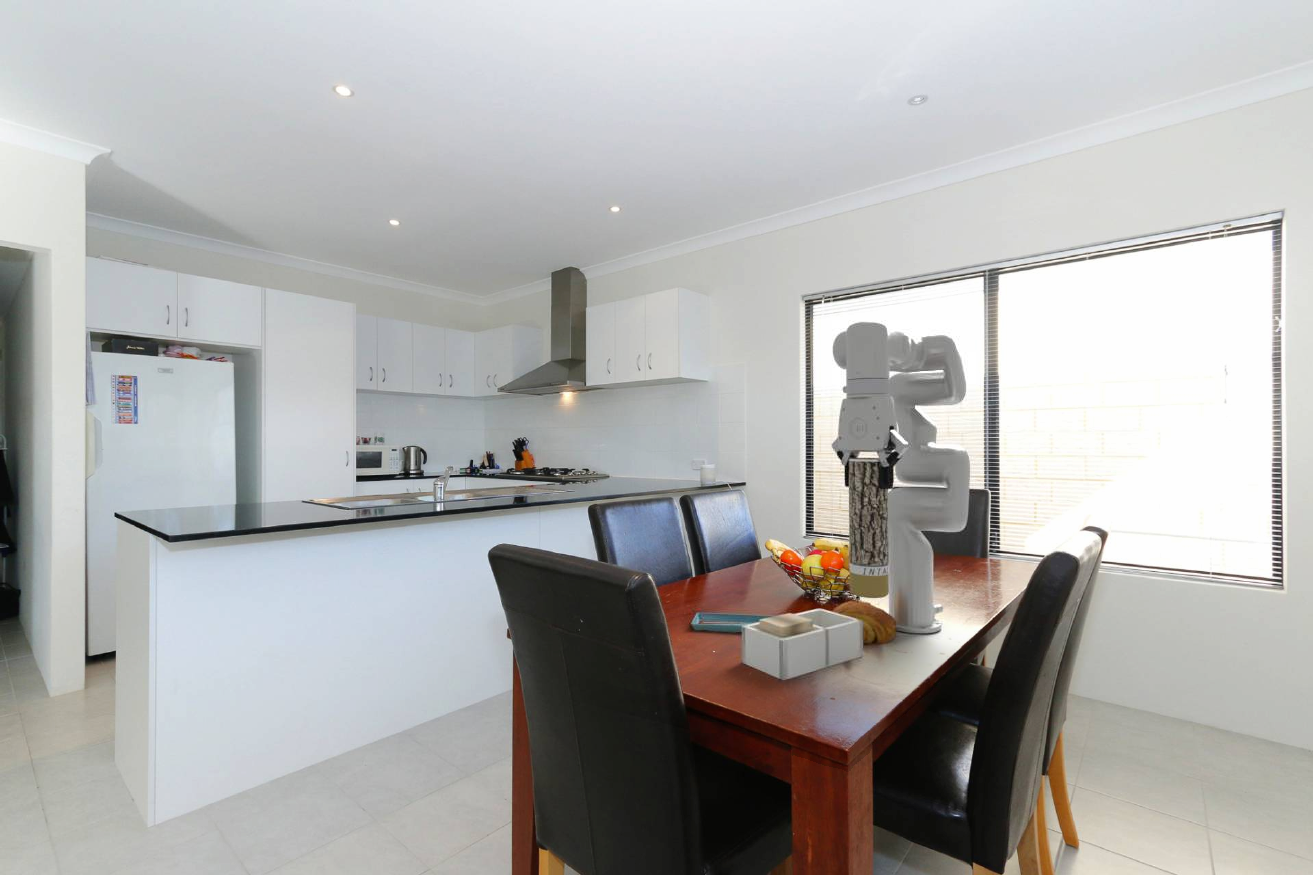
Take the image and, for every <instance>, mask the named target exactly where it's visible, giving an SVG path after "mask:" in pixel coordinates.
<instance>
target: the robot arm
mask: <svg viewBox="0 0 1313 875" xmlns="http://www.w3.org/2000/svg"><path fill="white" fill-rule="evenodd" d="M832 356H833V359H834V361H835V363H836V365H837V366H838V367H839V368H840V369H842V370H845V373H846V375H845V376H846V378H845V379H846V380H845V384H846V385H844V386H842V391H843V393H844V394H846V398H842V400H841V405H840V409H839V410H840V411H839V418H838V419H839V420H838V428H837V429H838V430H837V438H835V440H833V442H832V443H831V448H832V449H833V451H834V452H835V454H836V456H837V457H838V459H839V461H841V462H840V463H841V465H842V466H844V467H843V468H844V487H846V488H849V459H850V458H859V457H860V456H859V455H860V454H861V453H876V454H877V458H879V459H880V461H881V464H882V467H879V488H880V489H888V543H889V563H888V564H889V593H888V614H889V615H891V616H892V617H893V618H894V619H895V620H896V621H897V624H896V625H895V626H896V632H897V631H898V632H903V633H910V634H932V633H933V634H934V633H937V632H940V630H942V623H941V622H940V621H939V620H938V619H936V618H935V617H936V616H935V615H936V614H940V613H942V612H943V611H944V608H943V607H944V606H942V604H940V603H938V604H937V603H936V604H934V550H933V548H932V544H931V542H930V541H929V540H928V539H927V538H926V536H925V535H924V534H923V532H922V531H924V532H925V531H928V532H929V531H930V532H931V531H932V532H944V533H957V532H958V533H959V532H961V531H964V529H965V528H966V526H967V522H968V517H969V501H970V484H971V483H970V481H971V479H970V478H971V461H970V457H969V454H968V452H967V450H966V449H965V448H964V447H962V446H961V445H956V444H937V433H938V428H937V426H936V424H935V423H934V422H933V420H932V419H931V418H930V416H928V415H927V414H926V413H925V412H924V411H923V410H922V409H921V408H920V407H933V406H935V407H937V406H938V407H939V406H954V405H958V404H959V403H961V402H963V401H964V399H965V397H966V395H967V394H966V392H967V382H966V377H965V376H966V375H965V371H964V366H963V361H962V356H961V350H960V347H959V345H958V342H957V341H956V338H955V337H954V336H953V335H952V334H950V333H948V332H935V333H933V332H932V333H923V334H922V333H921V334H910V333H907V331H906V330H905V329H903V328H901V327H900V326H897V325H896V326H895V325H887V323H885V322H883V321H876V320H873V321H871V320H870V321H858V322H854V323H853V324H850V325H849V326H848V327H847V328H846V330H844V331H842V332H840V333H838V334H837V335H836V336H835V338H834V341H833V345H832ZM890 372H893V373H894V372H897V373H895V374H893V375H892V376H891V377H890ZM894 471H895V472H894ZM894 473H895V474H894ZM895 476H896V479H897V480H898V481H899V482H900V483H903V484H906V485H912V486H913V485H914V486H929V487H930V486H932V488H929V487H928V488H927V487H911V486H910V487H907V486H906V487H902V486H901V487H897V488H894V479H895V478H894V477H895ZM933 486H934V487H936V486H937V487H945V488H933Z"/></svg>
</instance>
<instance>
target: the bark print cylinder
mask: <svg viewBox="0 0 1313 875" xmlns="http://www.w3.org/2000/svg"><path fill="white" fill-rule="evenodd" d="M879 467H882V464H881V461H880V459H879V457H858V458H850V459H849V487H848V520H849V521H848V527H849V528H848V536H849V538H848V539H849V540H848V541H849V542H848V543H849V544H848V546H849V547H848V548H849V552H848V553H849V554H848V555H849V591H850V593H851V594H852V595H853V596H857V597H859V598H866V599H882V598H885V597H887V596H889V543H888V492H889V489H880V488H879Z"/></svg>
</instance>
